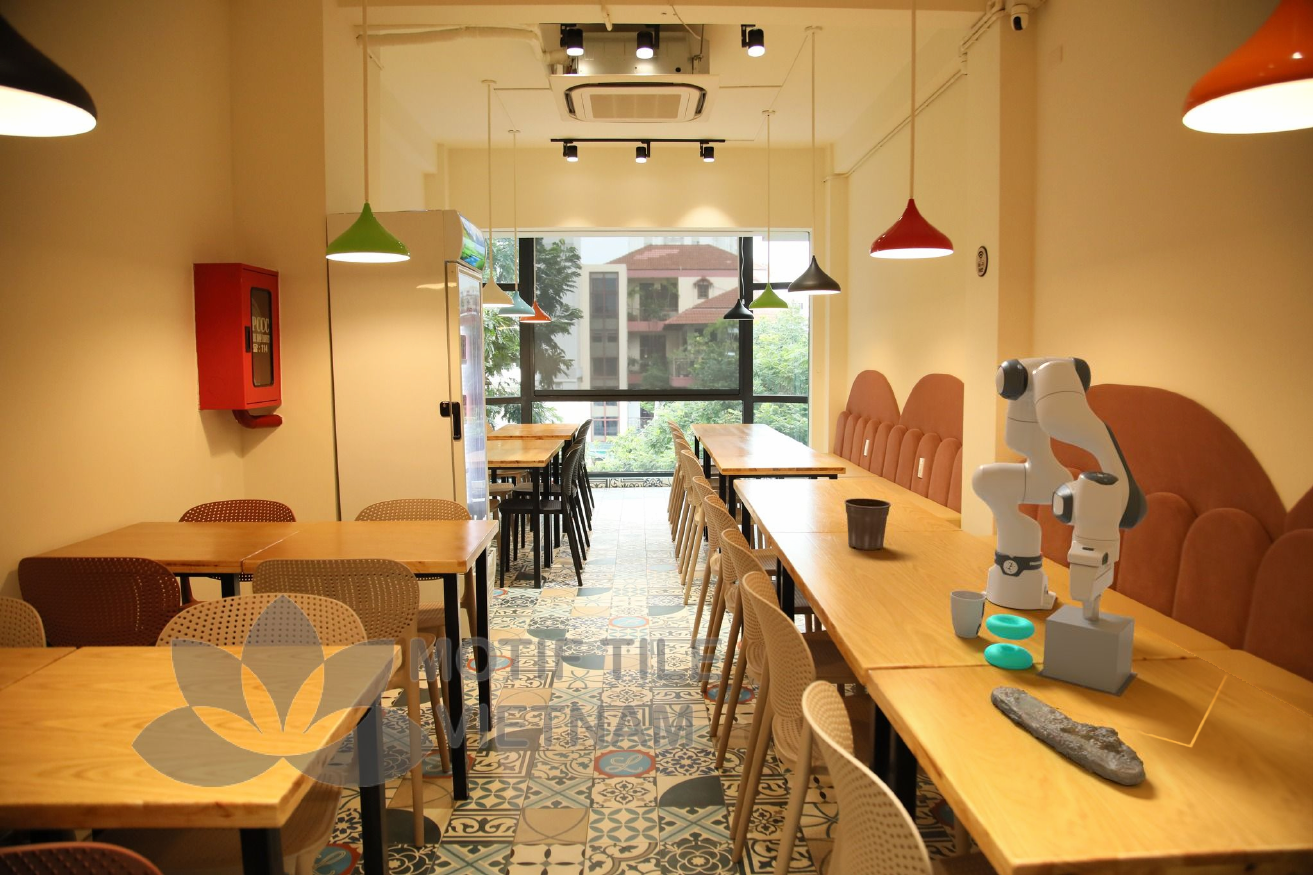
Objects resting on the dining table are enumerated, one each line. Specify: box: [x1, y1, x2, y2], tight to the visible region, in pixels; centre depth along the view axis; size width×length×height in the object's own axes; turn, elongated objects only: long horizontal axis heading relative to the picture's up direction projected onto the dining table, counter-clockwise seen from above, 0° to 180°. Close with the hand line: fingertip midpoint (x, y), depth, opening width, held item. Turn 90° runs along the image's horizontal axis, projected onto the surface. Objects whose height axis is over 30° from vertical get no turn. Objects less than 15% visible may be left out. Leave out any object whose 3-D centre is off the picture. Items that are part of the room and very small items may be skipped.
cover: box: [1042, 596, 1136, 693], centre depth 171 cm, size 14×14×17 cm
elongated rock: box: [990, 685, 1147, 786], centre depth 144 cm, size 35×5×10 cm
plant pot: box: [844, 497, 892, 551], centre depth 288 cm, size 16×16×16 cm
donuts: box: [983, 614, 1036, 670], centre depth 179 cm, size 10×10×10 cm
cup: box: [949, 589, 987, 639], centre depth 197 cm, size 8×8×10 cm
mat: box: [1035, 668, 1139, 698], centre depth 172 cm, size 16×16×1 cm
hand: (1090, 613), depth 171 cm, fingers closed on cover, 3 cm apart
